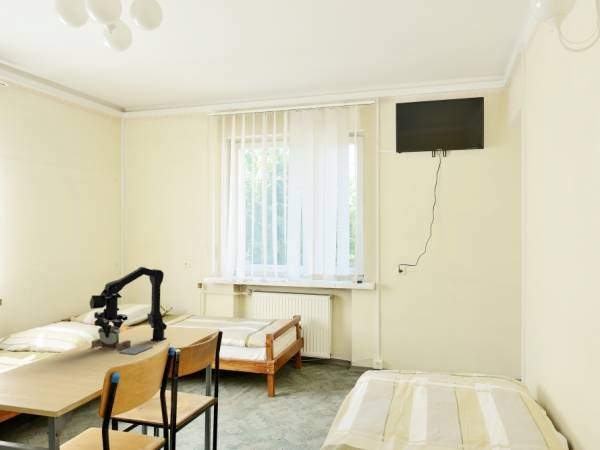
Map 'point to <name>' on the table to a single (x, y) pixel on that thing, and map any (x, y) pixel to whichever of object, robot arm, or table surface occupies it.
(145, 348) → the mat
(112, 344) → the food container
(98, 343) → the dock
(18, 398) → the table surface
